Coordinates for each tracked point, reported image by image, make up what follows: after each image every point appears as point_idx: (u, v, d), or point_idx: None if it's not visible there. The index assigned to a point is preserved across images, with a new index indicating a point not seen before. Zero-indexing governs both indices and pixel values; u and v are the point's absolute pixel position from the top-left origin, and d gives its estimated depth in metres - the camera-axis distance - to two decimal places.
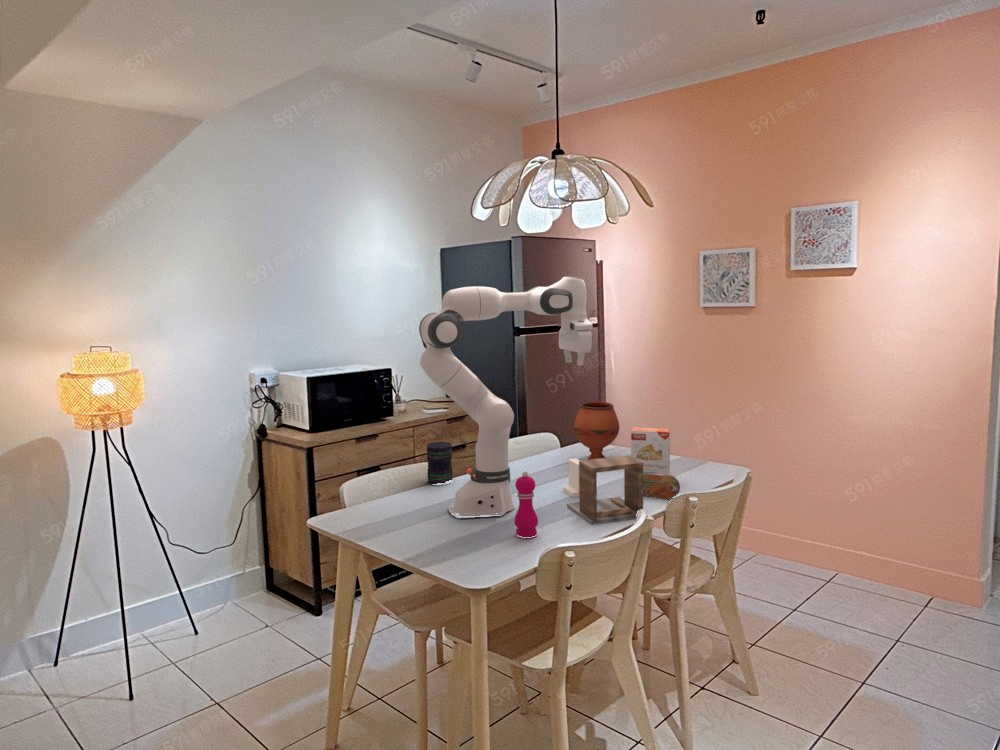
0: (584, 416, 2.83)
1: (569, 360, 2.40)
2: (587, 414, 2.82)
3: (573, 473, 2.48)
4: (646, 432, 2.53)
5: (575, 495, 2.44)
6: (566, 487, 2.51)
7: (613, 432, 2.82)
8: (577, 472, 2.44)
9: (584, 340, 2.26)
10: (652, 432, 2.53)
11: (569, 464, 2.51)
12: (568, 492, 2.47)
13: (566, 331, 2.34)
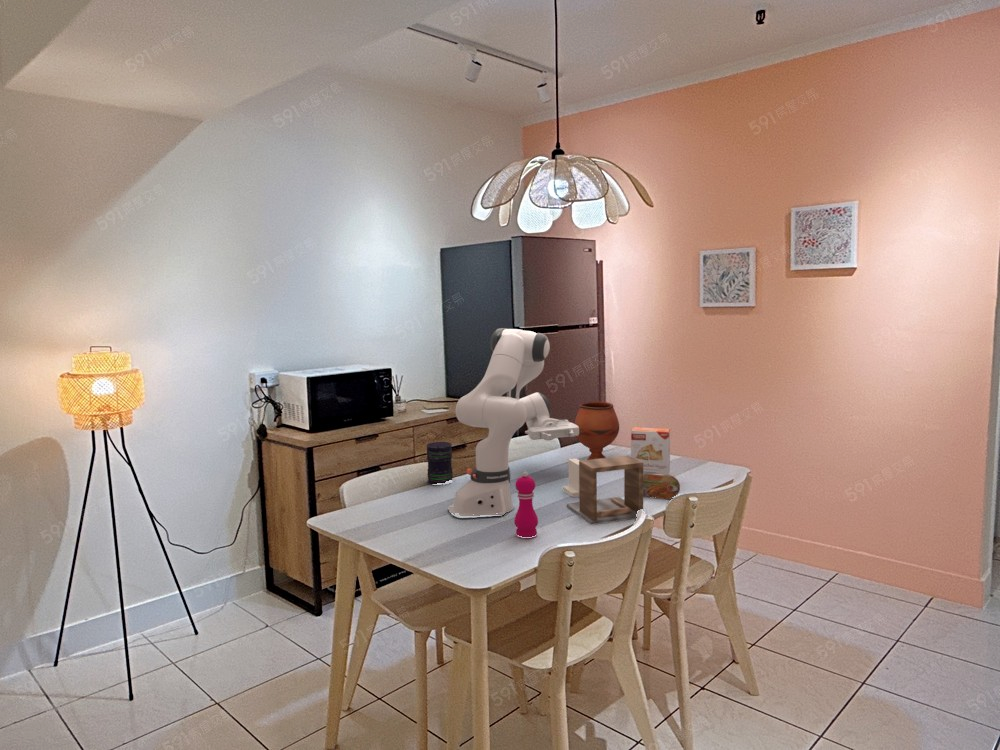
0: (584, 416, 2.83)
1: None
2: (587, 414, 2.82)
3: (573, 473, 2.48)
4: (646, 432, 2.53)
5: (575, 495, 2.44)
6: (566, 487, 2.51)
7: (613, 432, 2.82)
8: (577, 472, 2.44)
9: None
10: (652, 432, 2.53)
11: (569, 464, 2.51)
12: (568, 492, 2.47)
13: (551, 422, 2.72)
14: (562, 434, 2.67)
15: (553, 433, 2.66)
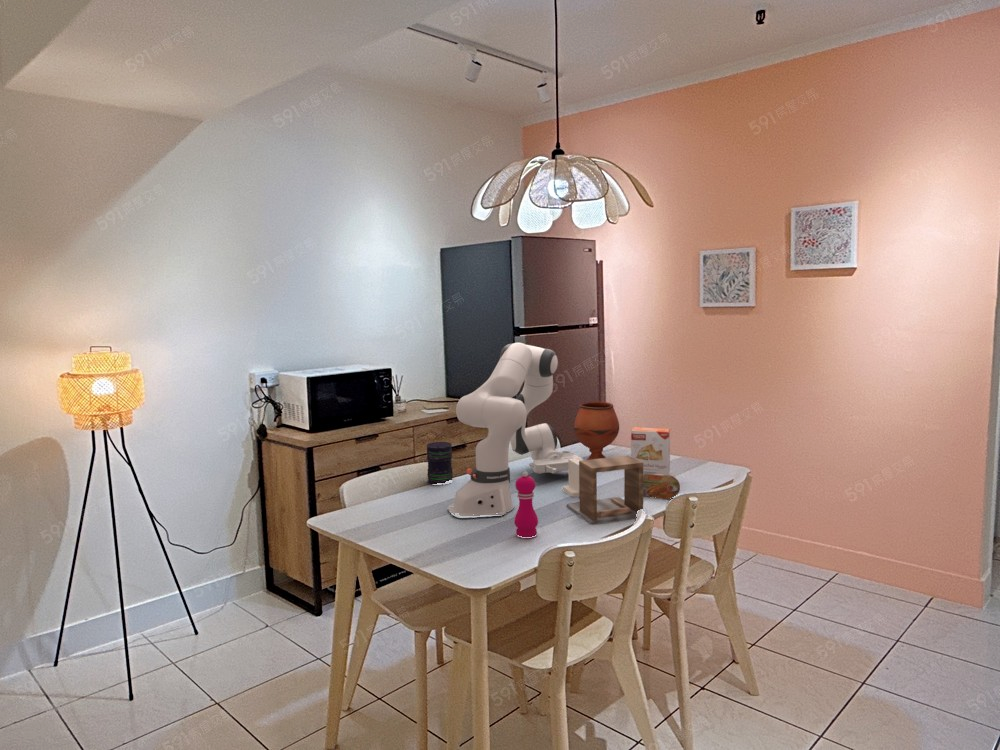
0: (584, 416, 2.83)
1: None
2: (587, 414, 2.82)
3: (573, 473, 2.48)
4: (646, 432, 2.53)
5: (575, 495, 2.44)
6: (566, 487, 2.51)
7: (613, 432, 2.82)
8: (577, 472, 2.44)
9: None
10: (652, 432, 2.53)
11: (569, 464, 2.51)
12: (568, 492, 2.47)
13: (555, 455, 2.69)
14: (567, 467, 2.64)
15: (558, 466, 2.63)
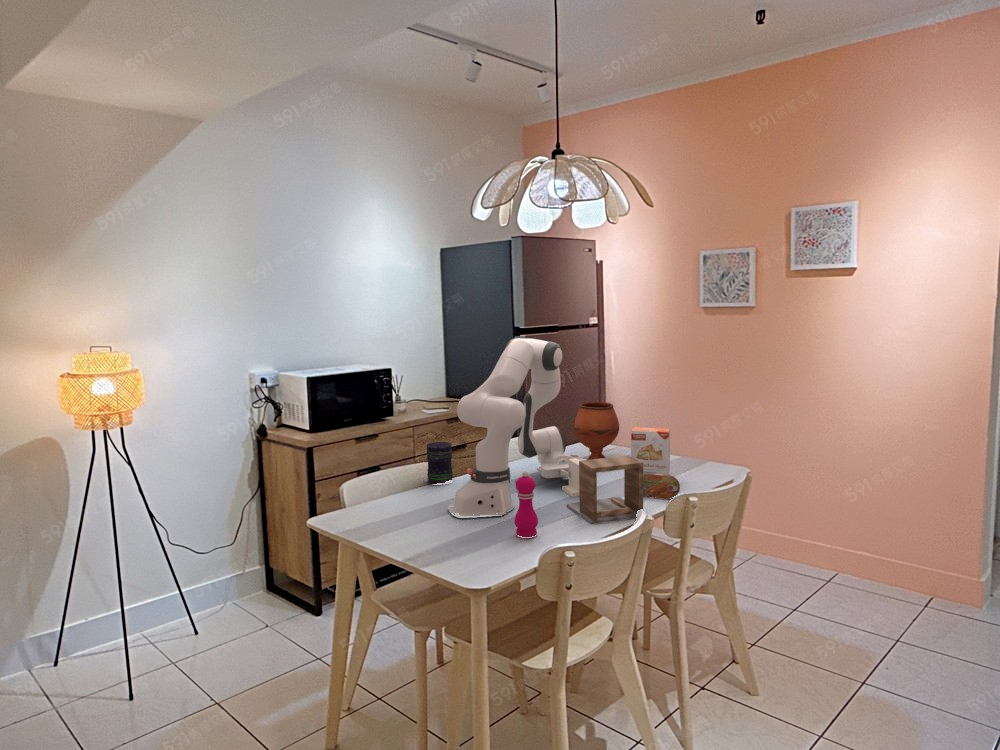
0: (584, 416, 2.83)
1: None
2: (587, 414, 2.82)
3: (573, 472, 2.48)
4: (646, 432, 2.53)
5: (575, 495, 2.44)
6: (566, 487, 2.51)
7: (613, 432, 2.82)
8: (577, 472, 2.44)
9: None
10: (652, 432, 2.53)
11: (569, 464, 2.51)
12: (568, 492, 2.47)
13: (564, 459, 2.61)
14: None
15: (566, 471, 2.56)
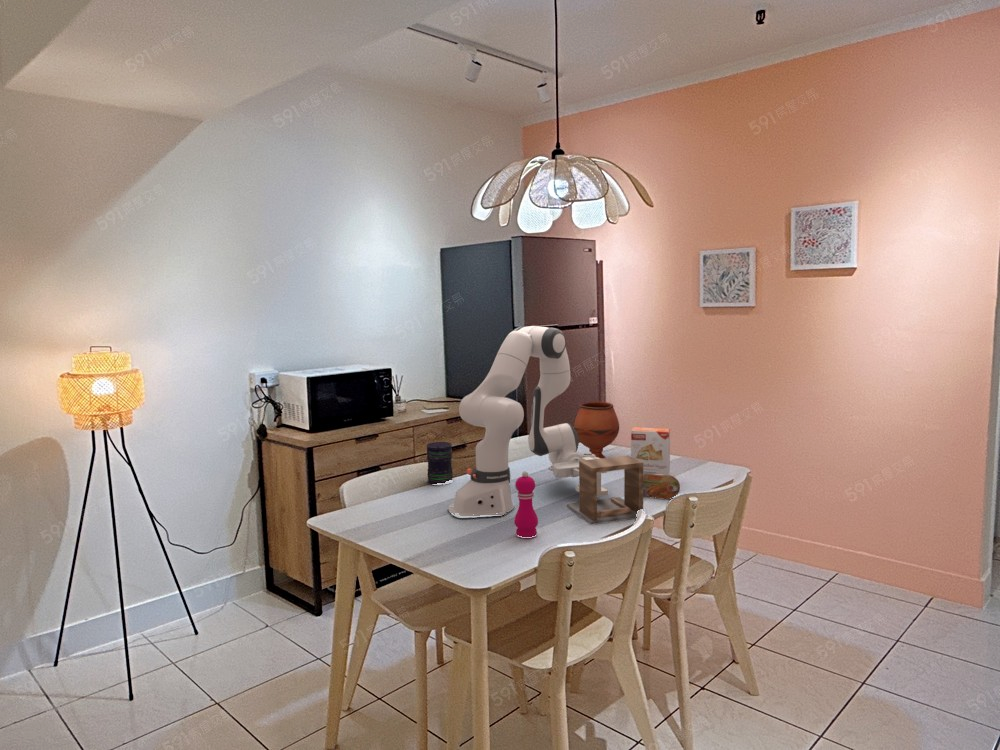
0: (584, 416, 2.83)
1: None
2: (587, 414, 2.82)
3: None
4: (646, 432, 2.53)
5: None
6: None
7: (613, 432, 2.82)
8: None
9: None
10: (652, 432, 2.53)
11: None
12: None
13: (576, 457, 2.49)
14: None
15: None
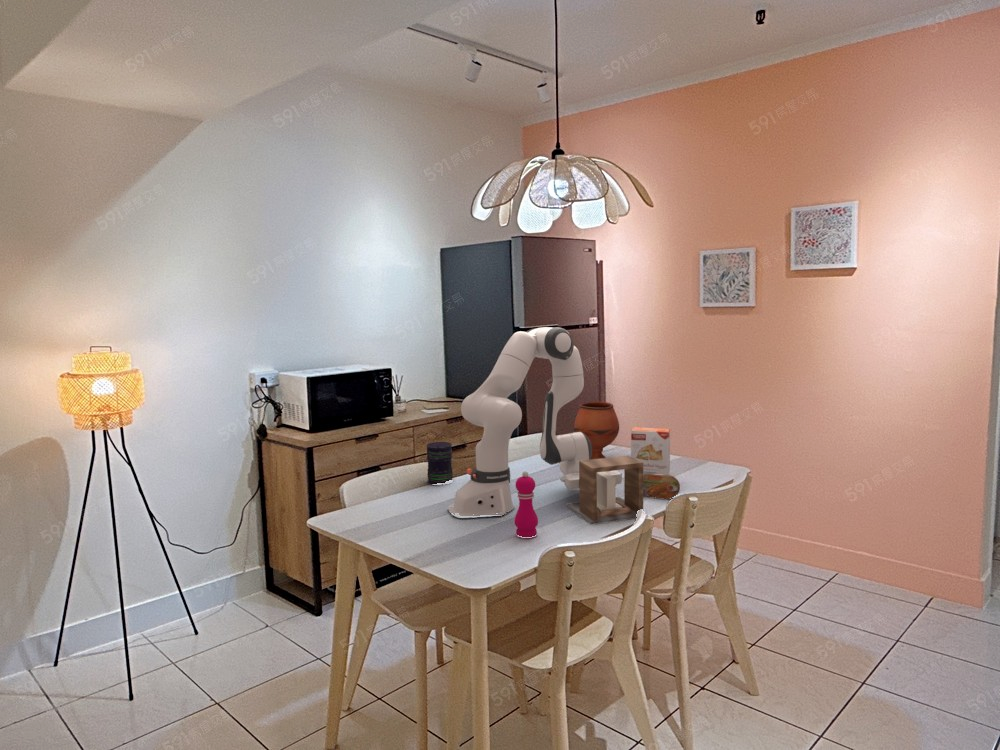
0: (584, 416, 2.83)
1: None
2: (587, 414, 2.82)
3: (601, 487, 2.26)
4: (646, 432, 2.53)
5: None
6: None
7: (613, 432, 2.82)
8: (605, 486, 2.23)
9: None
10: (652, 432, 2.53)
11: None
12: None
13: None
14: None
15: None
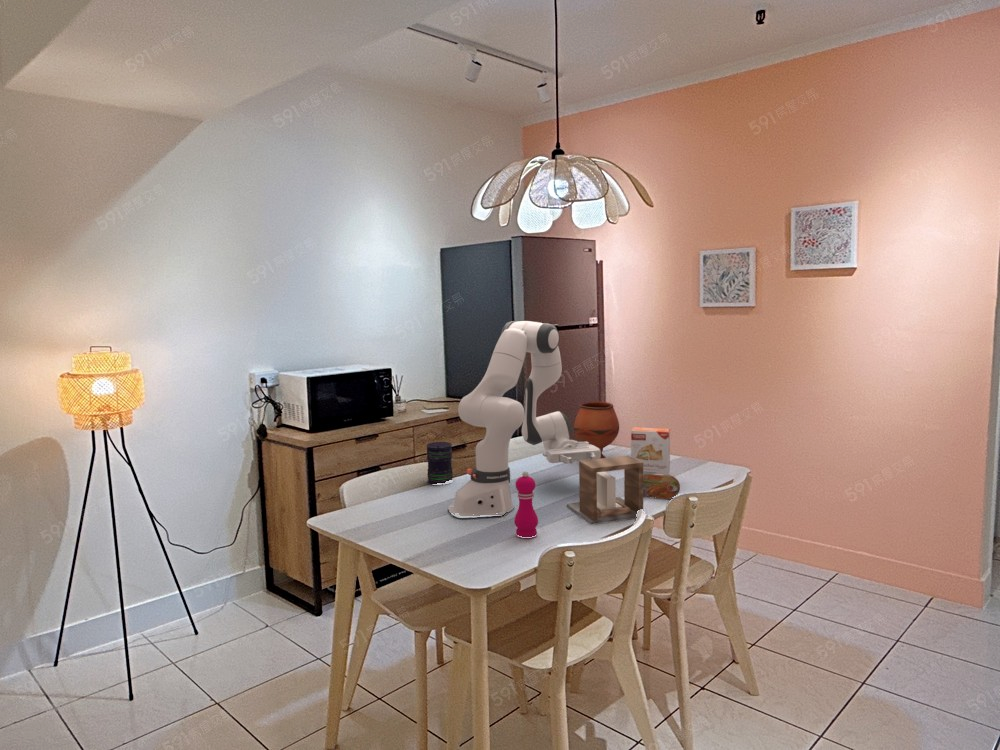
0: (584, 416, 2.83)
1: None
2: (587, 413, 2.82)
3: (601, 487, 2.26)
4: (646, 432, 2.53)
5: None
6: None
7: (613, 432, 2.82)
8: (605, 486, 2.23)
9: None
10: (652, 432, 2.53)
11: None
12: None
13: (570, 444, 2.54)
14: (582, 457, 2.49)
15: (573, 456, 2.48)
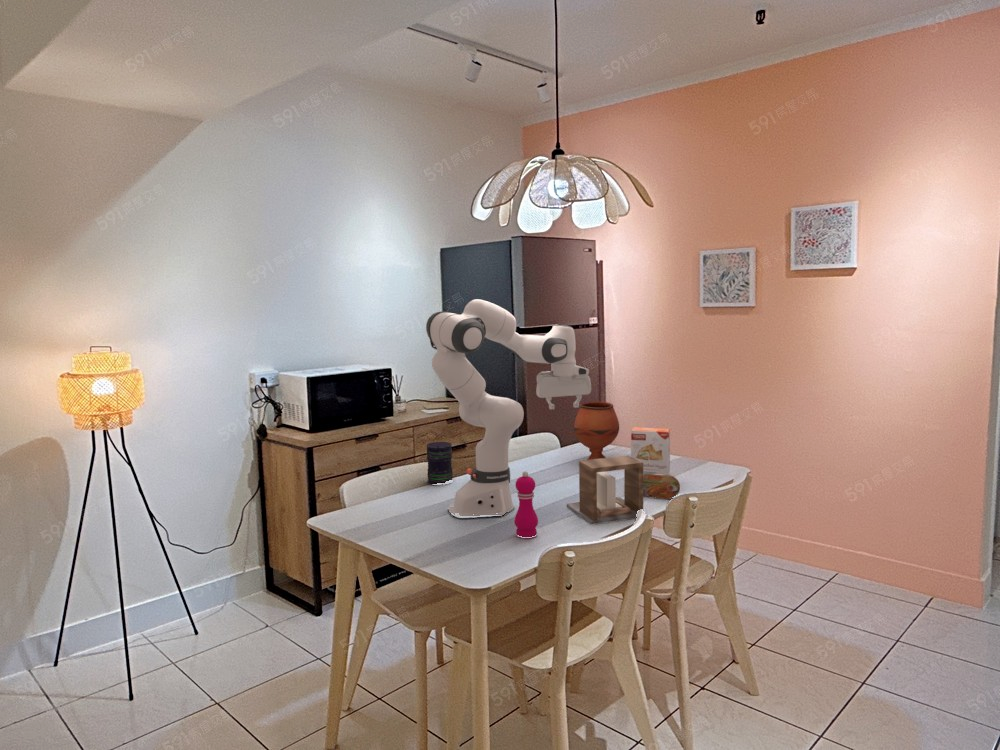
0: (584, 416, 2.83)
1: None
2: (587, 414, 2.82)
3: (601, 487, 2.26)
4: (646, 432, 2.53)
5: None
6: None
7: (613, 432, 2.82)
8: (605, 486, 2.23)
9: None
10: (652, 432, 2.53)
11: None
12: None
13: (568, 377, 2.42)
14: None
15: None
